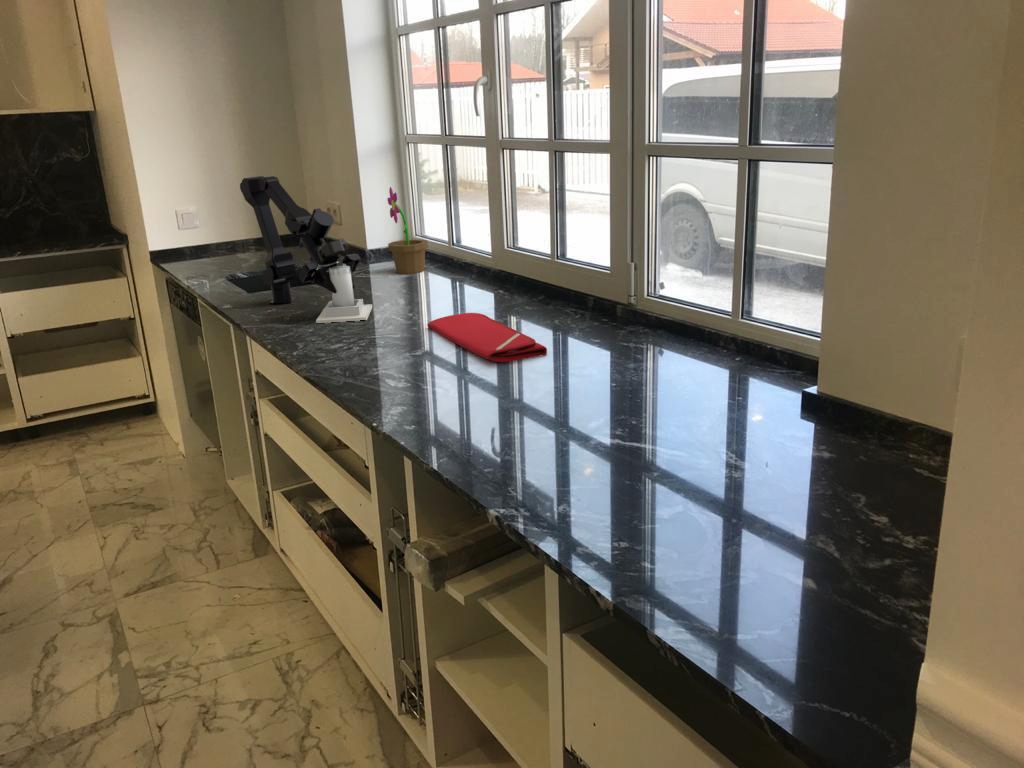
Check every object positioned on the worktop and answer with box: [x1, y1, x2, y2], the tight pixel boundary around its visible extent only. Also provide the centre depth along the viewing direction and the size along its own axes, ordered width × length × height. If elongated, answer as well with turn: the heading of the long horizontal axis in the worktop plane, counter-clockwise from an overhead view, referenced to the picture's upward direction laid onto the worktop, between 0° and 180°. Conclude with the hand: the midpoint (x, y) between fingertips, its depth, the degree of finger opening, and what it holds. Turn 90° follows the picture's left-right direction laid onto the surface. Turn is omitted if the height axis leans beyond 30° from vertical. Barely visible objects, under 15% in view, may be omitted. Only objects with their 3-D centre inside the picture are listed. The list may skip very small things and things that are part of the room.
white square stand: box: [315, 298, 373, 324], centre depth 245 cm, size 16×14×4 cm
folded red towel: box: [426, 312, 548, 363], centre depth 213 cm, size 16×41×4 cm, turn 25°
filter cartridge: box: [328, 266, 355, 307], centre depth 244 cm, size 6×6×13 cm
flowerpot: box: [387, 186, 429, 275], centre depth 300 cm, size 14×14×30 cm
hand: (345, 290), depth 243 cm, fingers closed on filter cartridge, 6 cm apart
